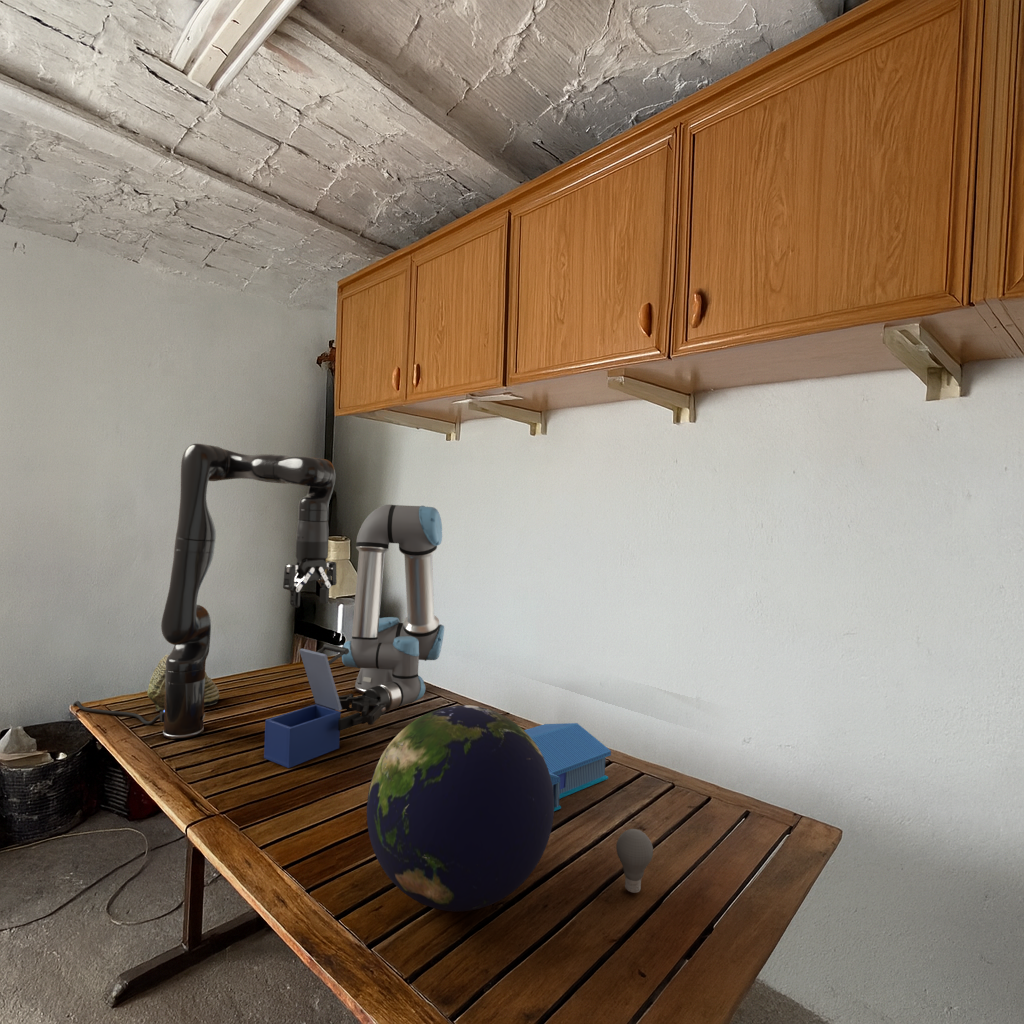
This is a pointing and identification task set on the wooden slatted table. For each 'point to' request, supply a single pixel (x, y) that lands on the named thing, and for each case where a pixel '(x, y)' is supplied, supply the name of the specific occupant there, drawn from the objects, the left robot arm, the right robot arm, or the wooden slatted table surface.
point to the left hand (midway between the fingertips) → (309, 605)
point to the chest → (301, 735)
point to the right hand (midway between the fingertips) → (320, 719)
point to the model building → (570, 757)
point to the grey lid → (322, 675)
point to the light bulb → (634, 857)
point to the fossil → (158, 687)
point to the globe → (460, 808)
